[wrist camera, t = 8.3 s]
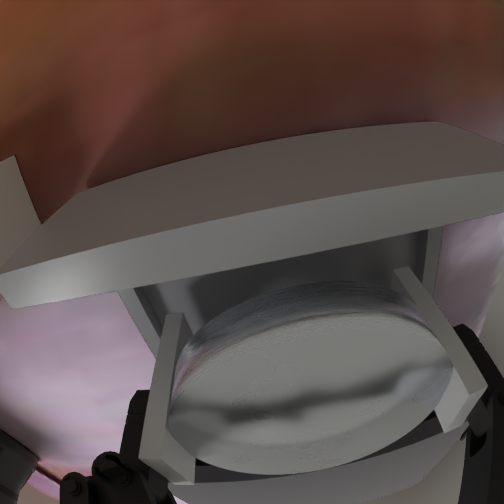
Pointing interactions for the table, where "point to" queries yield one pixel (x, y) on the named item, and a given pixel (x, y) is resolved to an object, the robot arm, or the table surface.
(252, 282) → the tray
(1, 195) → the pedestal
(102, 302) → the table surface
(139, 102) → the table surface
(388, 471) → the housing
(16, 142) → the table surface
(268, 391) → the disc
